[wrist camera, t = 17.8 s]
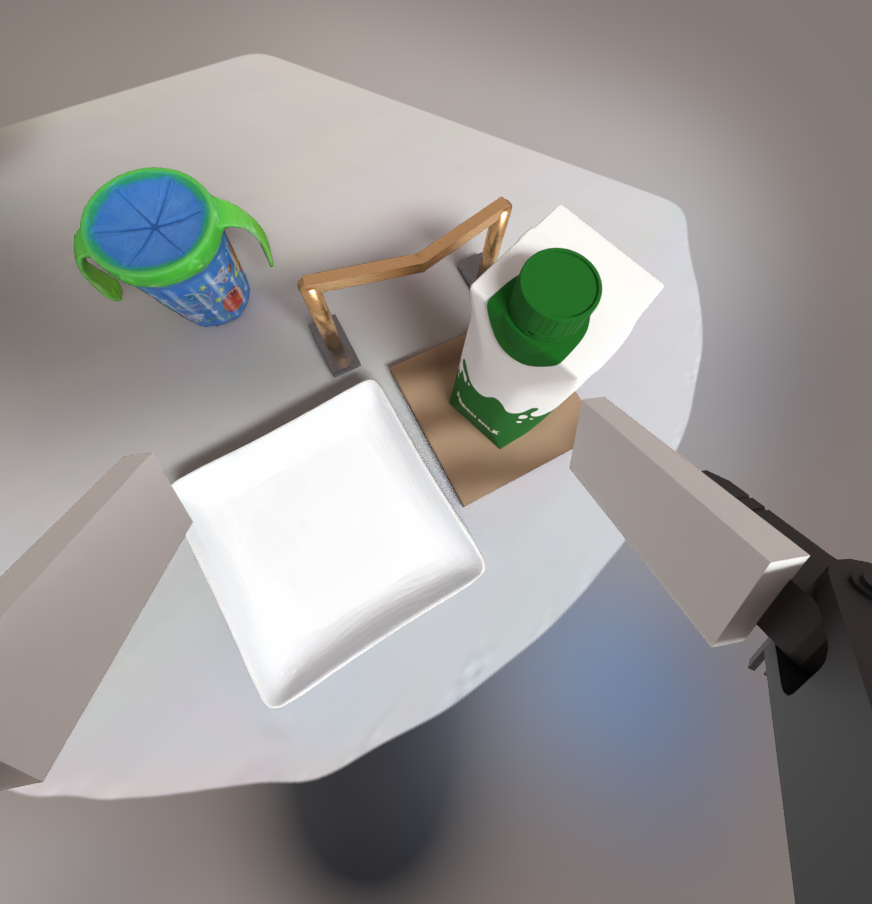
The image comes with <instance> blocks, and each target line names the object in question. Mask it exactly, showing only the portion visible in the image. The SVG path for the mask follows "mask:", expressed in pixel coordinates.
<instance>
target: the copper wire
mask: <svg viewBox="0 0 872 904" xmlns="http://www.w3.org/2000/svg"><path fill="white" fill-rule="evenodd" d="M511 210H512V205H511V203H510V202H509V201H508V200H506V199H504V198H503V197H502V196H501V197H500V198H499V199H497V200H496V201H494V202H493V203H491V204H490V205H488V206H487V207H485V208H484V209H482V210H481V211H479V212H478V213H476V214H475V215H474V216H472V217H471V218H469V219H468V220H466V221H465V222H463V223H462V224H460V225H459V226H457V227H456V228H454V229H453V230H451V231H450V232H449V233H447V234H446V235H444V236H443V237H441V238H440V239H438V240H437V241H435V242H434V243H432V244H431V245H429V246H428V247H426V248H425V249H424V250H422V251H421V252H419V253H417V254H412V255H407V256H401V257H396V258H391V259H386V260H381V261H376V262H371V263H365V264H360V265H355V266H350V267H345V268H340V269H335V270H329V271H324V272H319V273H314V274H309V275H304V276H303V278H301V279H300V280H299V282H298V289H299V291H300V293H301V295H302V297H303V299H304V301H305V303H306V305H307V307H308V309H309V311H310V313H311V315H312V317H313V319H314V321H315V323H313V324H311V325H308V326H309V328H310V330H311V332H312V334H313V336H314V338H315V340H316V342H317V344H318V346H319V348H320V350H321V351H322V353H323V355H324V357H325V359H326V361H327V363H328V365H329V367H330V369H331V371H332V373H333V375H334V377H337V376H339V375H341V374H343V373H346V372H348V371H350V370H352V369H354V368H357V367H359V366H361V364H360V361H359V359H358V357H357V356H356V354H355V352H354V350H353V348H352V346H351V344H350V342H349V340H348V338H347V336H346V334H345V332H344V331H343V329H342V327H341V325H340V323H339V321H338V319H337V317H336V315H335V314H334V315H332V316H331V314H330V311H329V309H328V306H327V304H326V301H325V299H324V296H323V294H322V292H326V291H331V290H336V289H341V288H346V287H351V286H356V285H361V284H366V283H371V282H376V281H381V280H386V279H391V278H396V277H401V276H406V275H411V274H416V273H421V272H425V271H426V270H427V269H429V268H430V267H431V266H433V265H434V264H436V263H437V262H439V261H440V260H442V259H443V258H444V257H446V256H447V255H449V254H450V253H452V252H453V251H454V250H456V249H457V248H459V247H460V246H462V245H463V244H465V243H466V242H467V241H469V240H470V239H472V238H473V237H475V236H476V235H478V234H479V233H480V232H482V231H483V230H485V229H486V228H488V231H487V236H486V240H485V244H484V248H483V252H482V253H479V254H477V255H474V256H472V257H470V258H467V259H465V260H463V261H460V262H459V267H458V269H459V270H460V272H461V274H462V275H463V277H464V279H465V280H466V282H467V284H468V285H469V287H470V288H471V285H472V284H473V283H474V282H475V281H476V280H477V279H478V278H479V277H480V276H481V275H482V274H483V273H484V272H485V271H486V270H488V269H489V268H490V267H491V266H492V265H493V264H494V263H495V262H496V261H497V257H498V254H499V251H500V247H501V244H502V240H503V237H504V234H505V230H506V227H507V223H508V220H509V217H510V213H511Z"/></svg>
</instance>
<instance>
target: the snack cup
mask: <svg viewBox="0 0 872 904" xmlns="http://www.w3.org/2000/svg"><path fill="white" fill-rule="evenodd" d="M227 227H237V228H245V229H246V230H247V231H248V232H250V234H251V235H253V236H254V237H255V238H256V239H257V240H258V241H259V243H260V245H261V247H262V249H263V251H264V253H265V255H266V257H267V259H268V262H269V265H270V266H271V267H273V260H272V255H271V250H270V246H269V243H268V240H267V237H266V234H265V232H264V231H263V229H262V228H261V226H260V225H259V224H258V223H257V222H256V221H255V220H254V219H253V218H252V217H251V216H250V215H249V214H248V213H246V212H245V211H244V210H242V209H241V208H239V207H238V206H236V205H234V204H232V203H230V202H228V201H224V200H222V199H218V198H216V197H213V196H212V195H210V194H209V193H208V192H207V190H206V189H205V188H204V187H203V186H202V185H201V184H200V183H199V182H198V181H197V180H195V179H194V178H192V177H191V176H189V175H187V174H184V173H182V172H180V171H177V170H173V169H167V168H157V167H152V168H142V169H137V170H133V171H129V172H126V173H124V174H122V175H119V176H117V177H115V178H114V179H112V180H110V181H109V182H107V183H106V184H104V185H103V186H102V187H101V188H100V189H98V190H97V192H95V193H94V195H93V196H92V197H91V199H90V200H89V202H88V203H87V205H86V206H85V209H84V211H83V214H82V217H81V222H80V228H79V230H78V231H77V233H76V235H74V238H75V239H74V253H75V259H76V263H77V266H78V268H79V270H80V271H81V273H82V274H83V275H84V276H85V278H86V279H87V280H88V281H89V282H90V283H91V284H92V285H93V286H94V287H95V288H96V289H97V290H98V291H100V292H101V293H102V294H103V295H105V296H106V297H108V298H110V299H112V300H114V301H120V300H122V290H121V287H120V284H119V283H118V281H117V280H116V279H114V278H112V277H110V276H109V275H108V274H106V273H105V272H103V271H101V270H99V269H98V268H96V267H95V266H93V265H91V264H90V263H88V262H87V260H86V257H91V258H92V259H93V260H94V261H95V262H96V263H97V264H99V265H100V266H101V267H102V268H103V269H104V270H106V271H107V272H108V273H109V274H111V275H113V276H114V277H116V278H118V279H120V280H121V281H122V282H124V283H126V284H129V285H133V286H136V287H137V288H139V289H140V290H142V291H143V292H145V293H147V294H149V295H150V296H152V297H153V298H155V299H156V300H157V301H159V302H160V303H162V304H164V305H165V306H167V307H168V308H170V309H171V310H173V311H175V312H177V313H178V314H180V315H181V316H182V317H184V318H186V319H188V320H190V321H192V322H194V323H196V324H198V325H200V326H205V327H207V326H218V325H221V324H224V323H226V322H228V321H230V320H234V319H236V318H238V317H240V315H241V313H242V311H243V309H244V307H245V306H246V304H247V301H248V298H249V290H250V288H249V285H248V281H247V279H246V276H245V274H244V272H243V271H242V268H241V266H240V263H239V261H238V259H237V256H236V254H235V252H234V250H233V248H232V246H231V243H230V241H229V239H228V237H227V235H226V233H225V231H224V229H226V228H227Z"/></svg>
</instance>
